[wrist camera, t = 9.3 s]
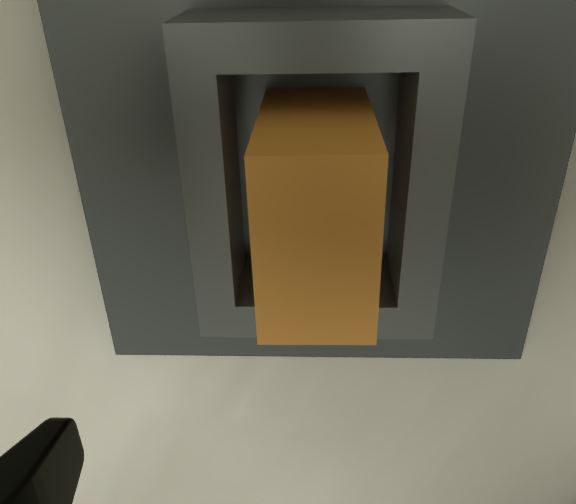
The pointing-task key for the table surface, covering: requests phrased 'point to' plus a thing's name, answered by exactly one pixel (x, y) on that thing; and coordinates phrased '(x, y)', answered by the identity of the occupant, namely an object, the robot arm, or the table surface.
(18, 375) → the table surface
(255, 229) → the brown rectangular block
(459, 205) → the desk well
